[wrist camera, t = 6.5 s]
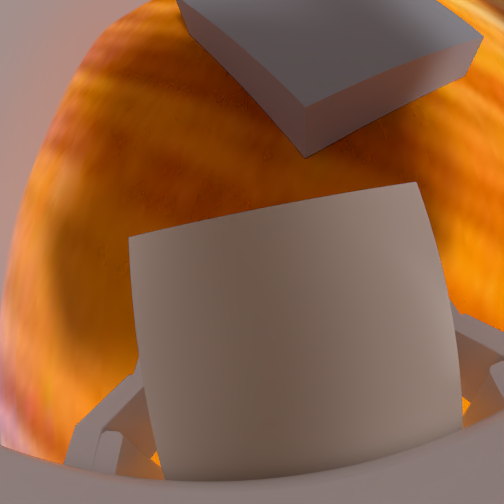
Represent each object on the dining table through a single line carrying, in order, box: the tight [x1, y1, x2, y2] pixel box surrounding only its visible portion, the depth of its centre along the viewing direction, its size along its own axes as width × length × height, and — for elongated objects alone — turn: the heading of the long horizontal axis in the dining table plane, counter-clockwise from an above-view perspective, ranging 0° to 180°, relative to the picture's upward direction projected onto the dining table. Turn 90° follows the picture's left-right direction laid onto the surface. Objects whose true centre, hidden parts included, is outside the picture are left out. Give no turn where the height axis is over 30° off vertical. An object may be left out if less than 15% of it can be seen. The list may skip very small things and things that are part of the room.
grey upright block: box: [129, 182, 463, 481], centre depth 9 cm, size 5×5×9 cm
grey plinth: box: [176, 0, 484, 158], centre depth 15 cm, size 14×14×4 cm
